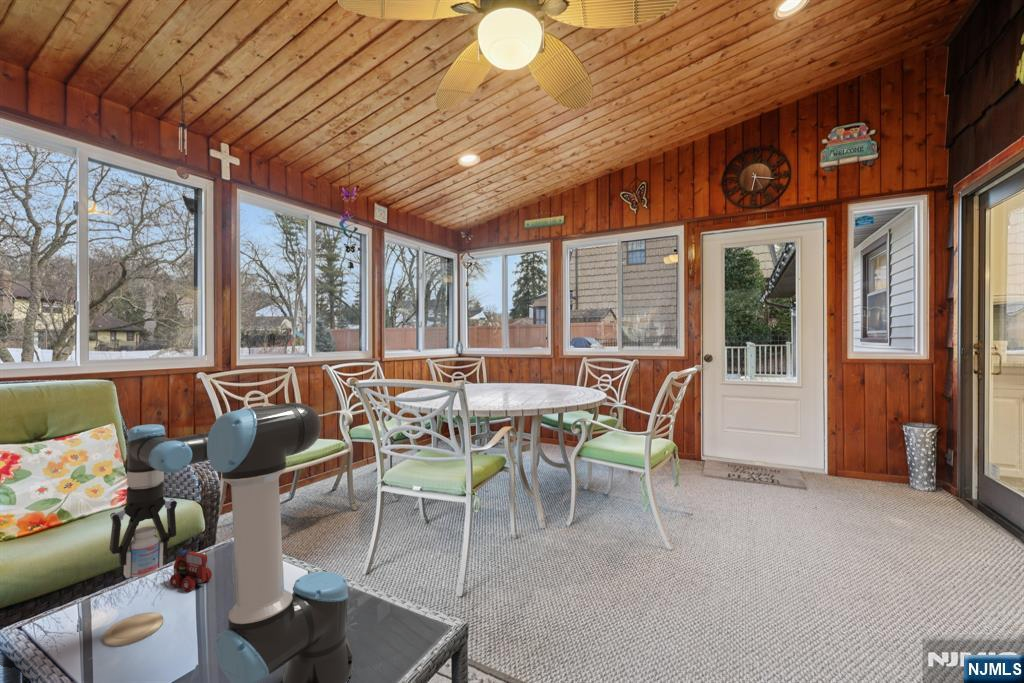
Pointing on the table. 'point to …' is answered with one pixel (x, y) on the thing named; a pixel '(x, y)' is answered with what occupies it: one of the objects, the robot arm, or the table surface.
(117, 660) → the table surface
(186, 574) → the toy fire truck
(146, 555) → the pill bottle
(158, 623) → the plate
